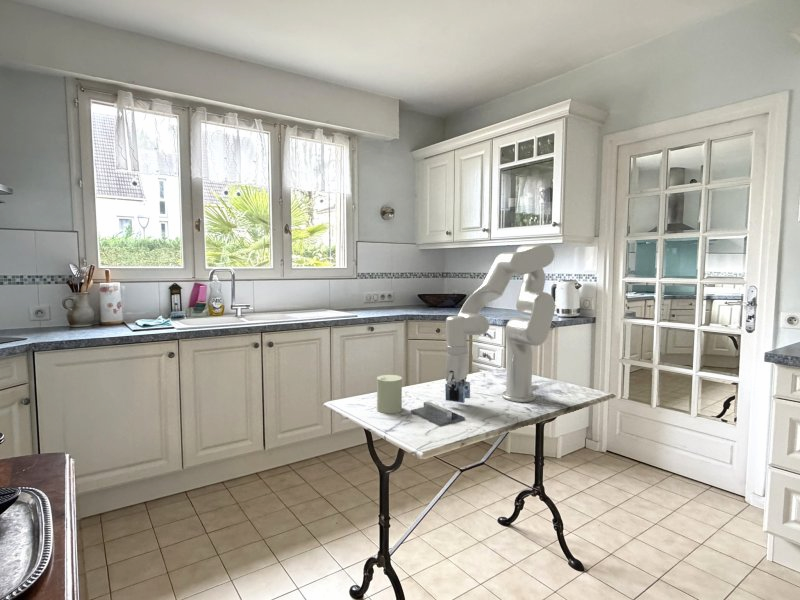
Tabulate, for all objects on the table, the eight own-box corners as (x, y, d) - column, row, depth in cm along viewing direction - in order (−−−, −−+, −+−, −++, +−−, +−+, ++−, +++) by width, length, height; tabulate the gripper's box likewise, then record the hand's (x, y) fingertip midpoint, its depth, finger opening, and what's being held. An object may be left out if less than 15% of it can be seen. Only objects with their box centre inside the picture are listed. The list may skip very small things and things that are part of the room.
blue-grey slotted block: (452, 395, 170) (452, 379, 170) (471, 397, 167) (470, 382, 166) (445, 400, 165) (445, 384, 164) (464, 403, 161) (464, 386, 160)
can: (371, 408, 163) (371, 375, 162) (392, 403, 168) (392, 372, 167) (385, 415, 156) (385, 381, 155) (407, 410, 161) (407, 377, 160)
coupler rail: (435, 406, 165) (435, 398, 165) (464, 419, 152) (464, 410, 151) (410, 412, 159) (410, 403, 158) (439, 426, 146) (439, 416, 145)
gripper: (457, 344, 173) (458, 389, 175) (437, 353, 158) (438, 403, 160) (475, 345, 169) (476, 392, 171) (456, 355, 155) (457, 406, 156)
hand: (458, 397), depth 166 cm, fingers closed on blue-grey slotted block, 6 cm apart
